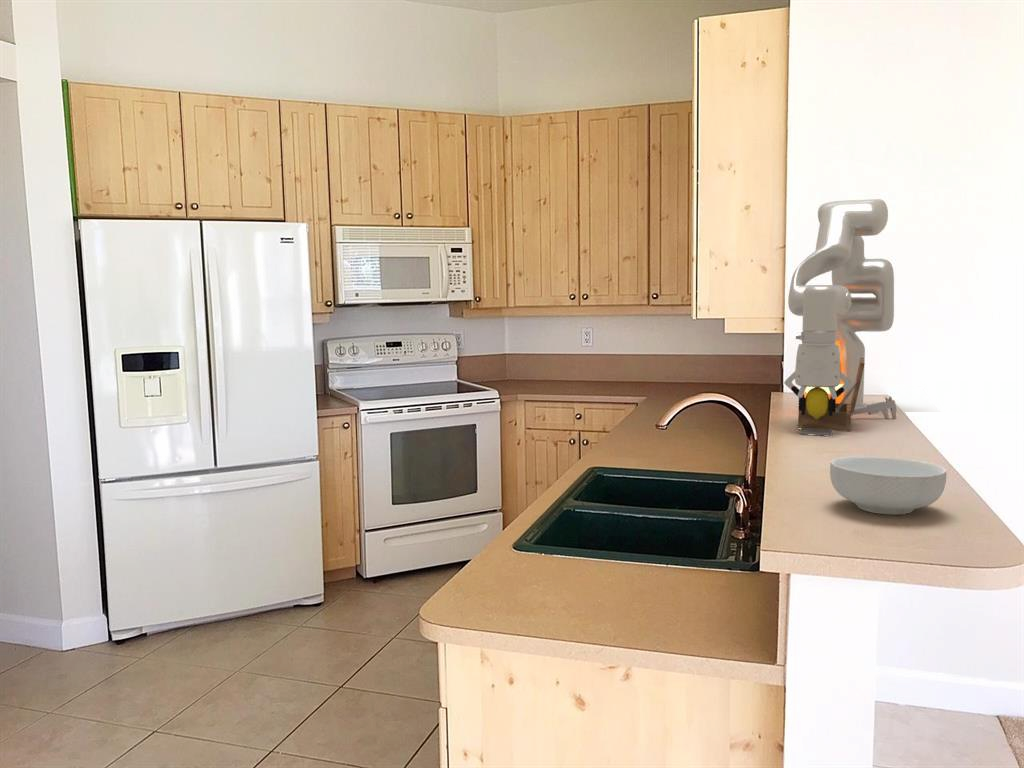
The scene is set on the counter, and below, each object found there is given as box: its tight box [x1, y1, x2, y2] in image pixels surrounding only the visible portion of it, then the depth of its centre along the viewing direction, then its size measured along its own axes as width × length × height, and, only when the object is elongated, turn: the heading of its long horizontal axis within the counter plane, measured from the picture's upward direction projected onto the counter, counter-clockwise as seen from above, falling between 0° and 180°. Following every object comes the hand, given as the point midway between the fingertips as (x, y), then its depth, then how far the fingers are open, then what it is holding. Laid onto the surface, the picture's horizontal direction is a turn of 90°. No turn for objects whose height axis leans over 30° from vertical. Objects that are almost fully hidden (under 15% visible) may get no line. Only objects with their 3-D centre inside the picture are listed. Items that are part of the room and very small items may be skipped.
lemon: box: [805, 387, 829, 419], centre depth 210 cm, size 6×6×8 cm
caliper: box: [851, 395, 897, 420], centre depth 232 cm, size 20×1×6 cm, turn 88°
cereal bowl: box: [829, 455, 947, 516], centre depth 138 cm, size 17×17×7 cm
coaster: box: [799, 428, 833, 437], centre depth 211 cm, size 7×7×1 cm
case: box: [797, 358, 866, 432], centre depth 222 cm, size 18×15×17 cm
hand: (816, 413), depth 210 cm, fingers closed on lemon, 5 cm apart
